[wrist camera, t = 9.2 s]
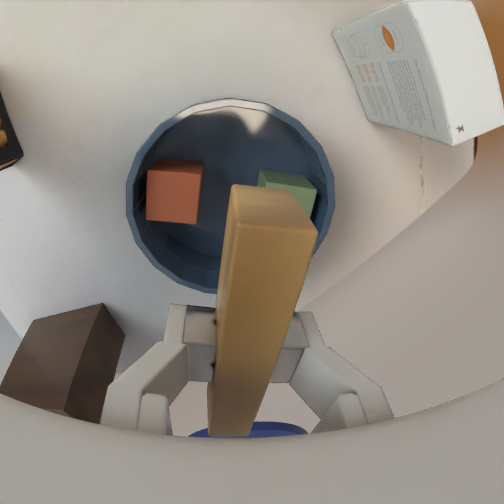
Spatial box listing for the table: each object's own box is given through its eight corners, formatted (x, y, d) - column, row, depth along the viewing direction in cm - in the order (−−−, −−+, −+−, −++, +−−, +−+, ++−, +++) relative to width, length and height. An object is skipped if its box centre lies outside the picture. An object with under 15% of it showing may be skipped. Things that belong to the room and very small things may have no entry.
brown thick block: (125, 335, 29) (101, 439, 18) (55, 347, 30) (24, 430, 19) (102, 302, 27) (63, 410, 16) (33, 320, 27) (-8, 403, 16)
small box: (416, 104, 20) (508, 127, 11) (366, 122, 20) (453, 151, 11) (385, 19, 16) (474, -1, 7) (328, 31, 16) (405, -1, 7)
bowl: (292, 264, 27) (306, 299, 22) (143, 251, 24) (130, 285, 20) (328, 116, 20) (356, 124, 16) (151, 92, 18) (131, 91, 14)
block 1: (199, 205, 22) (196, 225, 19) (155, 202, 22) (145, 220, 19) (204, 162, 21) (201, 174, 18) (158, 158, 20) (146, 170, 17)
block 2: (294, 216, 24) (305, 236, 20) (252, 211, 23) (257, 231, 20) (304, 175, 22) (317, 189, 19) (259, 168, 21) (266, 182, 18)
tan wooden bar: (292, 190, 8) (320, 231, 5) (243, 390, 12) (248, 436, 10) (231, 182, 7) (236, 222, 5) (207, 388, 12) (208, 436, 10)
